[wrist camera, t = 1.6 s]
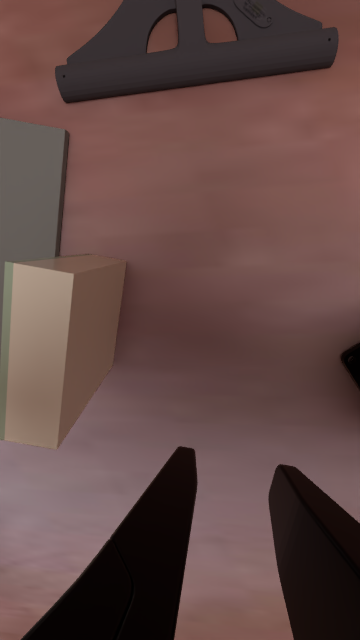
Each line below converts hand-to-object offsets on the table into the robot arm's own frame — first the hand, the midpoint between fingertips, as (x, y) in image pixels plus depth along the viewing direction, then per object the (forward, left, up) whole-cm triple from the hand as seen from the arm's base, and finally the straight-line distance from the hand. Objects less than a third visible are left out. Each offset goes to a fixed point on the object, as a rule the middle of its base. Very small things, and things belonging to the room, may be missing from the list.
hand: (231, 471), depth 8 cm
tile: (+5, +5, -13) cm, 15 cm away
